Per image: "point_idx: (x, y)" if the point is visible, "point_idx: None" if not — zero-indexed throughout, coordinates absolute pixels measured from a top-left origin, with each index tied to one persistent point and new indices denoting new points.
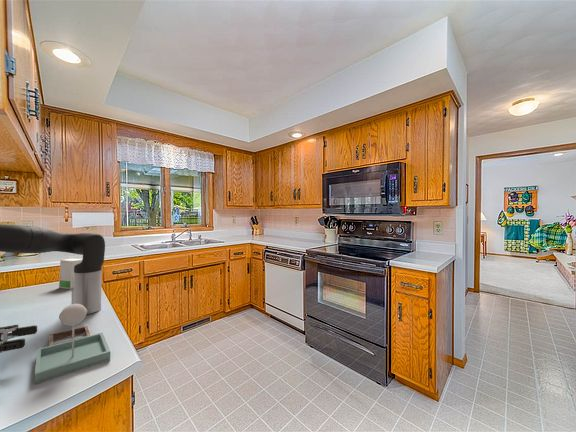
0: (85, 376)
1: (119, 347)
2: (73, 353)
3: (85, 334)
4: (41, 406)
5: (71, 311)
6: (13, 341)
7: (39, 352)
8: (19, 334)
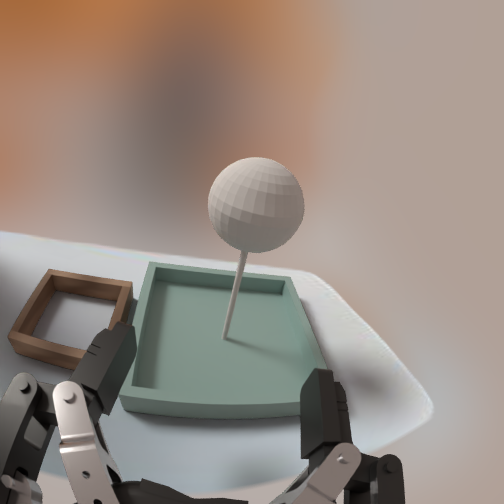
0: (333, 331)
1: None
2: (228, 330)
3: (79, 290)
4: (406, 381)
5: (300, 188)
6: (336, 402)
7: (160, 393)
8: (109, 404)
